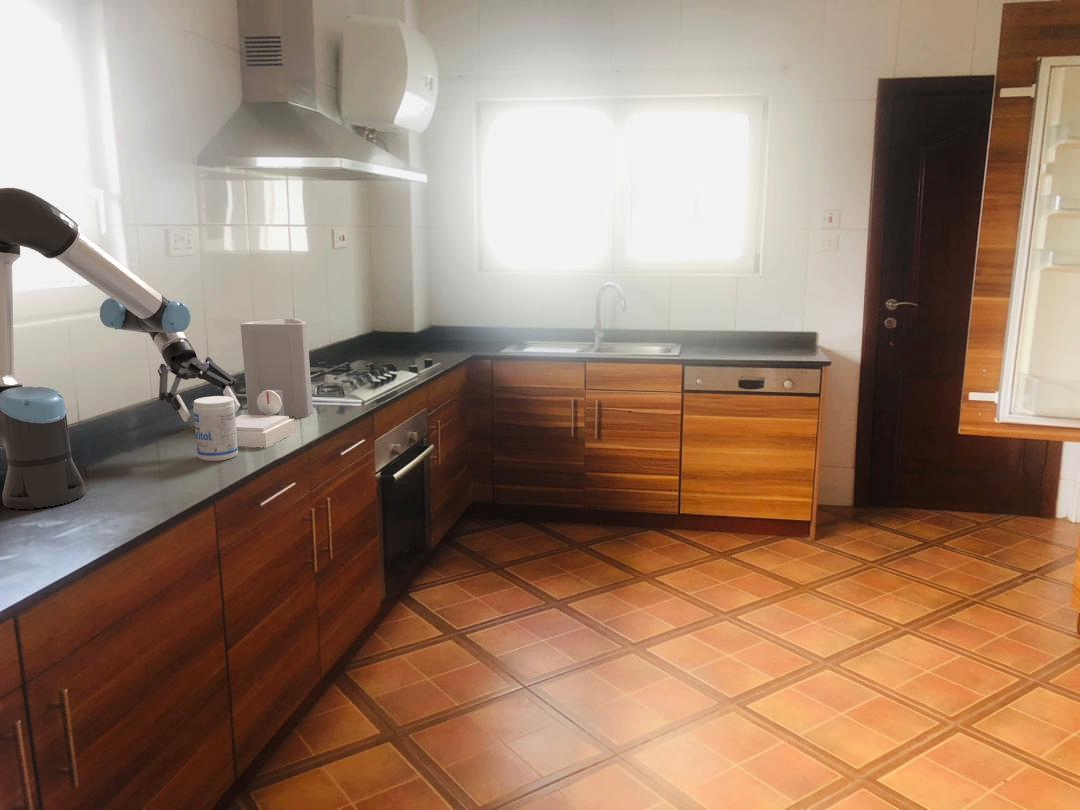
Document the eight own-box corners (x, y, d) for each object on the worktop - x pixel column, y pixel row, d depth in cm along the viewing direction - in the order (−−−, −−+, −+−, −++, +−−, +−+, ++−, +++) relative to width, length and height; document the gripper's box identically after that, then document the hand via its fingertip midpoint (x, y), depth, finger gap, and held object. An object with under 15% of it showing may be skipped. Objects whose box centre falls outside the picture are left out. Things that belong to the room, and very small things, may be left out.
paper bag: (325, 406, 265) (319, 318, 259) (307, 417, 250) (301, 324, 244) (268, 405, 267) (261, 318, 261) (247, 416, 253) (239, 324, 247)
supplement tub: (189, 460, 205) (183, 402, 202) (215, 450, 214) (209, 394, 211) (222, 463, 202) (216, 404, 199) (246, 453, 211) (241, 396, 208)
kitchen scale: (266, 447, 216) (263, 404, 214) (210, 445, 219) (206, 402, 216) (303, 428, 236) (300, 388, 234) (251, 426, 239) (248, 387, 237)
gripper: (215, 351, 226) (251, 413, 221) (123, 364, 207) (160, 432, 201) (224, 333, 222) (261, 396, 216) (131, 345, 203) (170, 414, 197)
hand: (213, 413), depth 209 cm, fingers open, 13 cm apart
